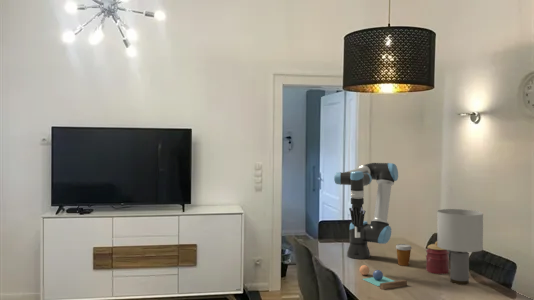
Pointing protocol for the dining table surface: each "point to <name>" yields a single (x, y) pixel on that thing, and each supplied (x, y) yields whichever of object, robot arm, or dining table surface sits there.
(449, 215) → the lamp
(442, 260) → the canister
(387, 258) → the dining table surface
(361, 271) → the orange sphere
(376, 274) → the object ball
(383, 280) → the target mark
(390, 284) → the wall
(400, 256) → the disposable coffee cup
